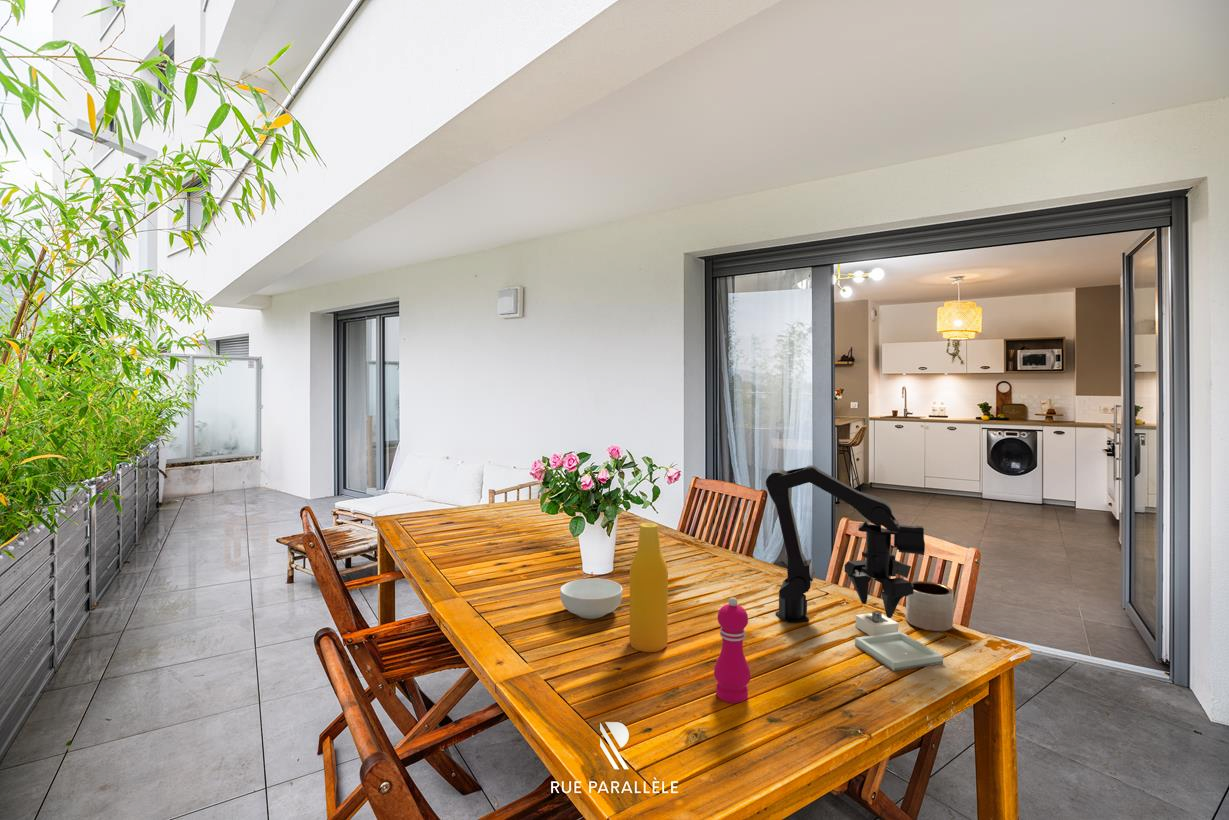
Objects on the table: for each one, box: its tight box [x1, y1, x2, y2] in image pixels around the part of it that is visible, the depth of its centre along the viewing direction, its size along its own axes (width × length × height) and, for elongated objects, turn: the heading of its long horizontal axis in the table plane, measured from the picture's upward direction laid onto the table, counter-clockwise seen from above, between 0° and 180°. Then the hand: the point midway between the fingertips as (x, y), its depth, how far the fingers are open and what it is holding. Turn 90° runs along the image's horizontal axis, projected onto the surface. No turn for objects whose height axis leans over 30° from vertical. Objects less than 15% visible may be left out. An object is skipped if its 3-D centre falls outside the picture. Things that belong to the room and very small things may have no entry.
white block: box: [855, 612, 899, 636], centre depth 149 cm, size 7×7×3 cm
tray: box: [854, 631, 944, 672], centre depth 137 cm, size 13×13×2 cm
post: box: [871, 611, 883, 623], centre depth 149 cm, size 2×2×4 cm
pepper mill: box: [713, 596, 751, 704], centre depth 119 cm, size 7×7×20 cm
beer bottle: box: [628, 522, 669, 653], centre depth 141 cm, size 9×9×29 cm
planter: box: [905, 580, 954, 633], centre depth 153 cm, size 11×11×10 cm
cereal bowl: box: [559, 577, 624, 620], centre depth 161 cm, size 17×17×7 cm
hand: (876, 610), depth 149 cm, fingers open, 9 cm apart
